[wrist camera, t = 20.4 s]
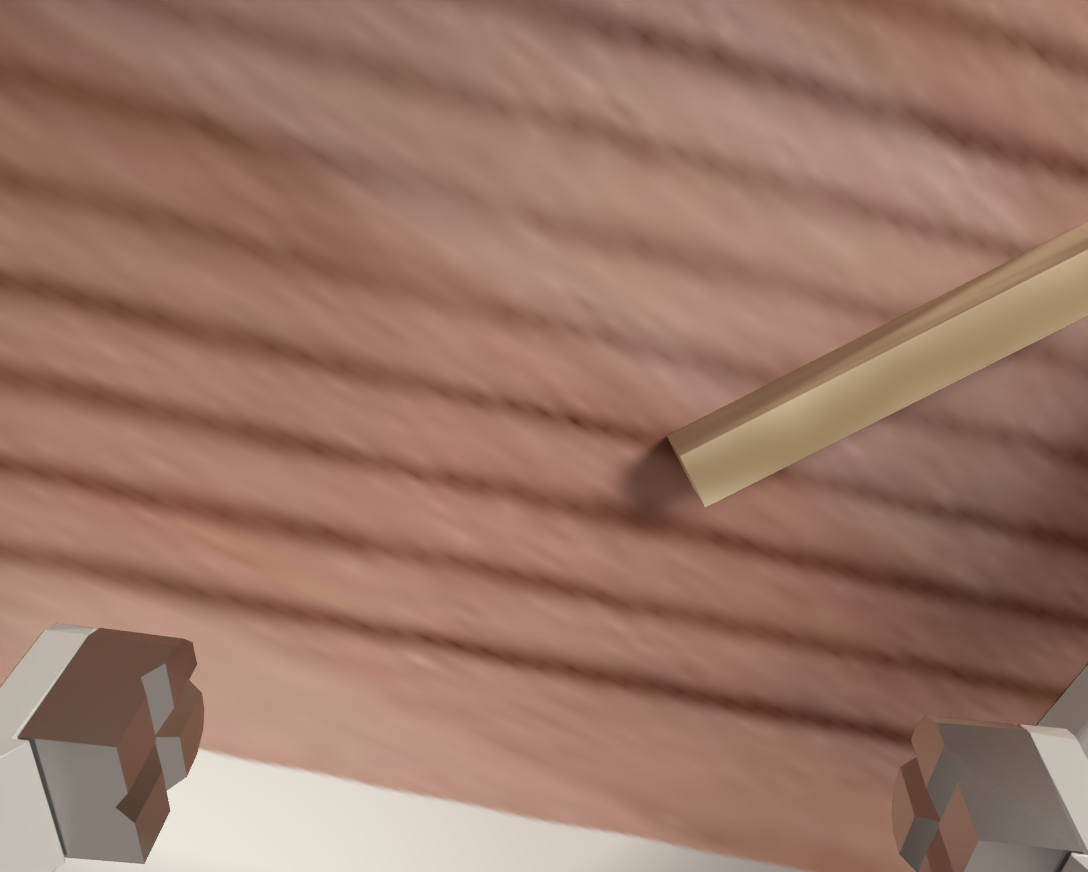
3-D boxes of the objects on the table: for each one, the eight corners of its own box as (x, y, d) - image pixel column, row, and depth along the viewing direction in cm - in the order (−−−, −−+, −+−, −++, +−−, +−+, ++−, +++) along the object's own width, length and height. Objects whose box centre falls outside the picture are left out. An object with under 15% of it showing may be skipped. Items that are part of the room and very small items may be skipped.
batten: (665, 434, 40) (679, 456, 37) (1085, 219, 39) (1136, 224, 36) (689, 481, 41) (705, 507, 38) (1103, 272, 40) (1155, 281, 36)
